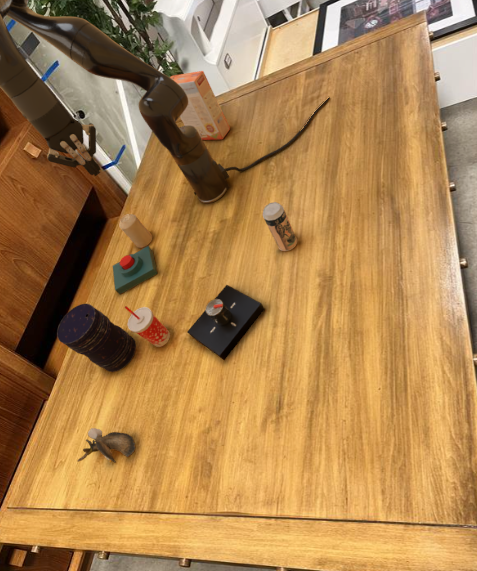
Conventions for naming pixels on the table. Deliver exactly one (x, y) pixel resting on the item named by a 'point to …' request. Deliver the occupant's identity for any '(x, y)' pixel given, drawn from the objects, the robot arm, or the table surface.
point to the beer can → (279, 226)
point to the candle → (135, 230)
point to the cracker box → (202, 106)
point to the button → (127, 262)
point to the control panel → (230, 334)
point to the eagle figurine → (109, 444)
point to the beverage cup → (148, 326)
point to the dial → (218, 312)
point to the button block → (135, 270)
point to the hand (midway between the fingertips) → (97, 173)
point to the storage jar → (96, 338)
